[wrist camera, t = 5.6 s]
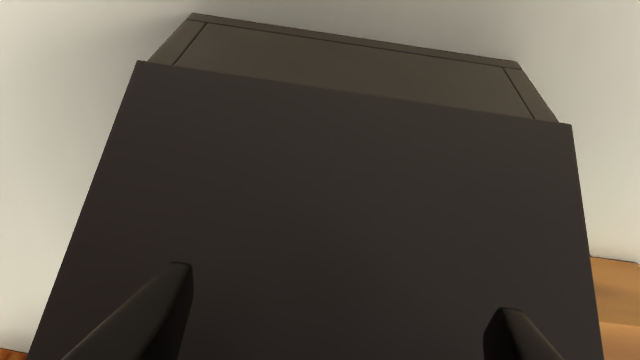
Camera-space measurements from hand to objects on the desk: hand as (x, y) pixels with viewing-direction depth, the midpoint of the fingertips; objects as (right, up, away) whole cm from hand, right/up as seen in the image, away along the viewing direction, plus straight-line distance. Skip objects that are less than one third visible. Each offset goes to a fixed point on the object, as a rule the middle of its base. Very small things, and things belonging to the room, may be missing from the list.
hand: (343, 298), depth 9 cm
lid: (0, -1, +2) cm, 2 cm away
